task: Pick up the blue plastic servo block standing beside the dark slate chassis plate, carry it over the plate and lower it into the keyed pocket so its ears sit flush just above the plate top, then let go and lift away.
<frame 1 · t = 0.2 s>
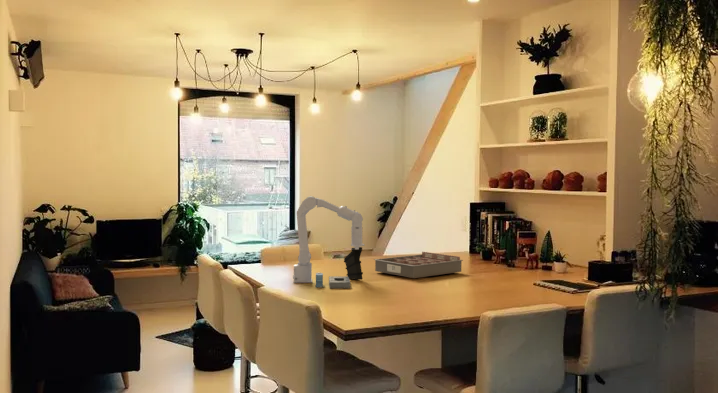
hand: (356, 261, 314), 10 cm above the table, fingers open, 5 cm apart
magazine: (353, 279, 323), on the table, touching gripper
organizer tray: (418, 274, 345), on the table
servo: (319, 286, 301), on the table
chassis: (339, 285, 304), on the table
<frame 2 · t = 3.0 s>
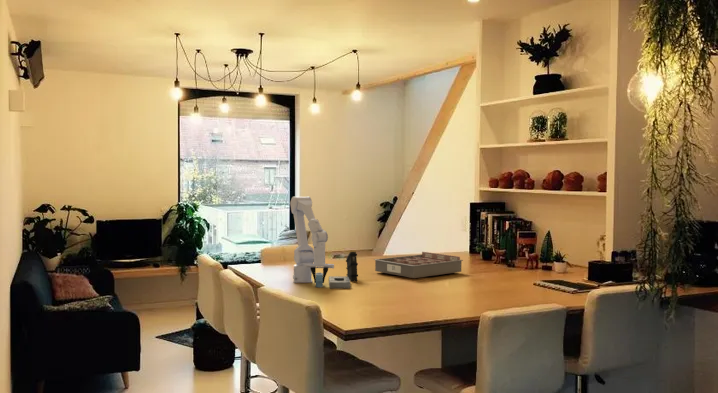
hand: (319, 282, 301), 2 cm above the table, fingers closed on servo, 3 cm apart
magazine: (351, 279, 322), on the table
servo: (319, 286, 301), on the table, touching gripper
everything else where it was.
when the fingers open (3 cm above the table, at t = 6.8 s): servo drops 2 cm, resting in chassis.
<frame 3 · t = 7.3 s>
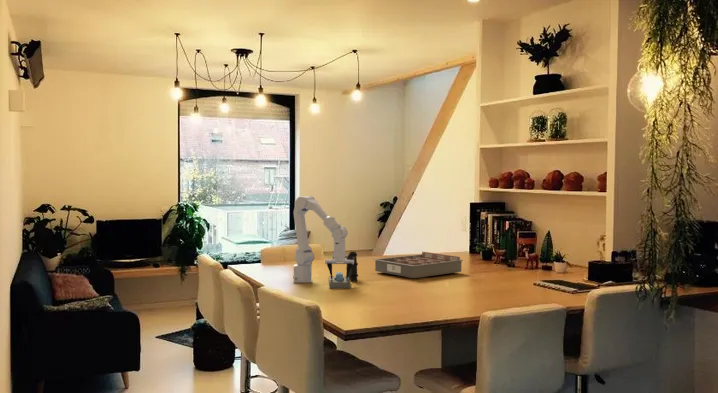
hand: (339, 278, 304), 3 cm above the table, fingers open, 7 cm apart
servo: (339, 285, 304), resting in chassis
everything else where it was.
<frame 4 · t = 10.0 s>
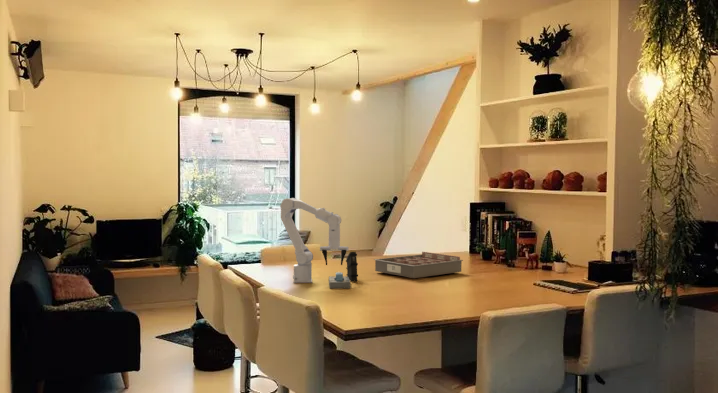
hand: (334, 264, 310), 9 cm above the table, fingers open, 7 cm apart
nothing on the table moved.
at the end: servo 0.1 cm off-centre on the chassis, point 0.0 cm above the chassis's base; servo tilted 0°; the gripper is holding nothing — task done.
